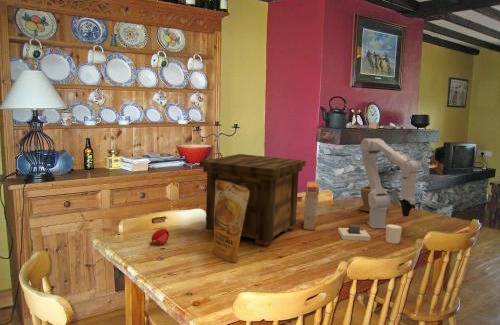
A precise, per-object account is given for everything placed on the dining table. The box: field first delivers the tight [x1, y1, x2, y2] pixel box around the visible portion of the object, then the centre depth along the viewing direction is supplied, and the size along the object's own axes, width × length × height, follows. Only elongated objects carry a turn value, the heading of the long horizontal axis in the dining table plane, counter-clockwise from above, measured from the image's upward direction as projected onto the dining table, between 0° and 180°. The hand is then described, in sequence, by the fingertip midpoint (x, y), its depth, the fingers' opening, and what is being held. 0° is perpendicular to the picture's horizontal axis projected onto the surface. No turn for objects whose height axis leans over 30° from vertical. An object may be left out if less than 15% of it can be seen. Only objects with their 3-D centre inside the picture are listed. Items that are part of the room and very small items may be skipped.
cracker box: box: [302, 181, 320, 231], centre depth 194 cm, size 14×6×21 cm, turn 168°
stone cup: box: [359, 185, 390, 214], centre depth 226 cm, size 15×12×15 cm
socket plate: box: [337, 227, 371, 242], centre depth 182 cm, size 11×12×3 cm
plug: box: [348, 223, 361, 234], centre depth 182 cm, size 4×4×5 cm
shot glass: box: [385, 223, 403, 245], centre depth 176 cm, size 7×7×7 cm
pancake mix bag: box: [212, 180, 250, 264], centre depth 150 cm, size 7×19×28 cm, turn 38°
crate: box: [199, 153, 307, 246], centre depth 181 cm, size 35×35×33 cm
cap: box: [150, 228, 170, 246], centre depth 163 cm, size 8×6×6 cm
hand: (405, 216), depth 184 cm, fingers closed
